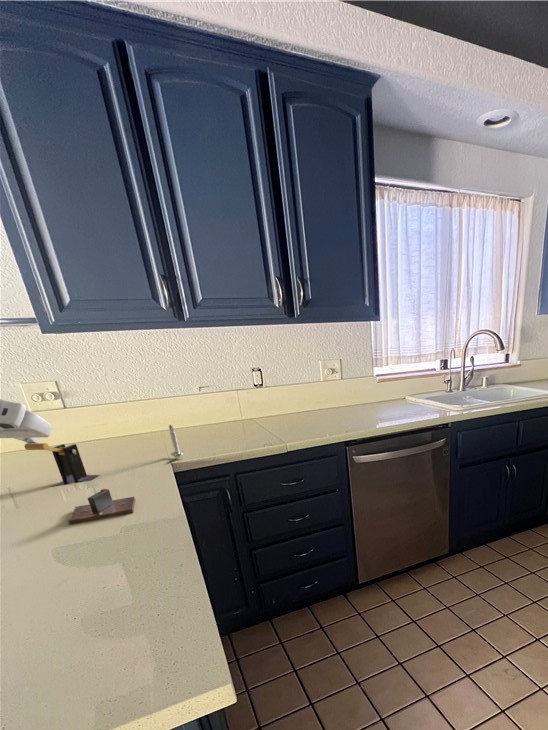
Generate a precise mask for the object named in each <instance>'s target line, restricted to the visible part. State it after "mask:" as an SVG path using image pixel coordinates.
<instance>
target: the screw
mask: <svg viewBox="0 0 548 730" xmlns="http://www.w3.org/2000/svg"><path fill="white" fill-rule="evenodd" d="M168 429H169V436H170V439H171V443H172V447H173V452H171V453H170V456H171V457H174V460H176V461H178V460H183V459H184V458H183V455H185V451H183V450H180V447H179V444H178V439H177V435H176V432H175V430H174V426H173V425H172V424H169V425H168Z"/></svg>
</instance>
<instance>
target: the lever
mask: <svg viewBox="0 0 548 730" xmlns="http://www.w3.org/2000/svg"><path fill="white" fill-rule="evenodd" d="M53 447H54V446H53ZM53 447H52V446H50V445H49V444H48V443H46V442H43V443H42V442H41V443H40V442H38V443H25V444H24V449H25V450H26V451H48V452H52V451H54V452H59V455H63V456H65V453H64V451H63V448H64V447H59V449H58V448H53Z"/></svg>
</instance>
